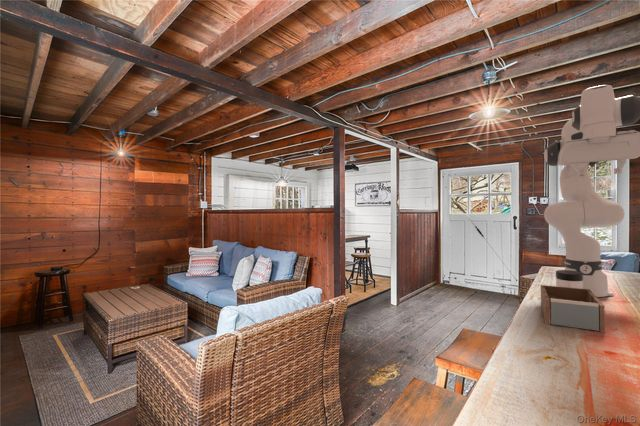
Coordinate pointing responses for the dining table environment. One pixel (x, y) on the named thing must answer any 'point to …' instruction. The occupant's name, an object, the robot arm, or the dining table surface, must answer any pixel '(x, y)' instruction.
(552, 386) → the dining table surface
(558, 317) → the panel
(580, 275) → the jar
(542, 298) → the crate
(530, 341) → the dining table surface
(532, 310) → the dining table surface
